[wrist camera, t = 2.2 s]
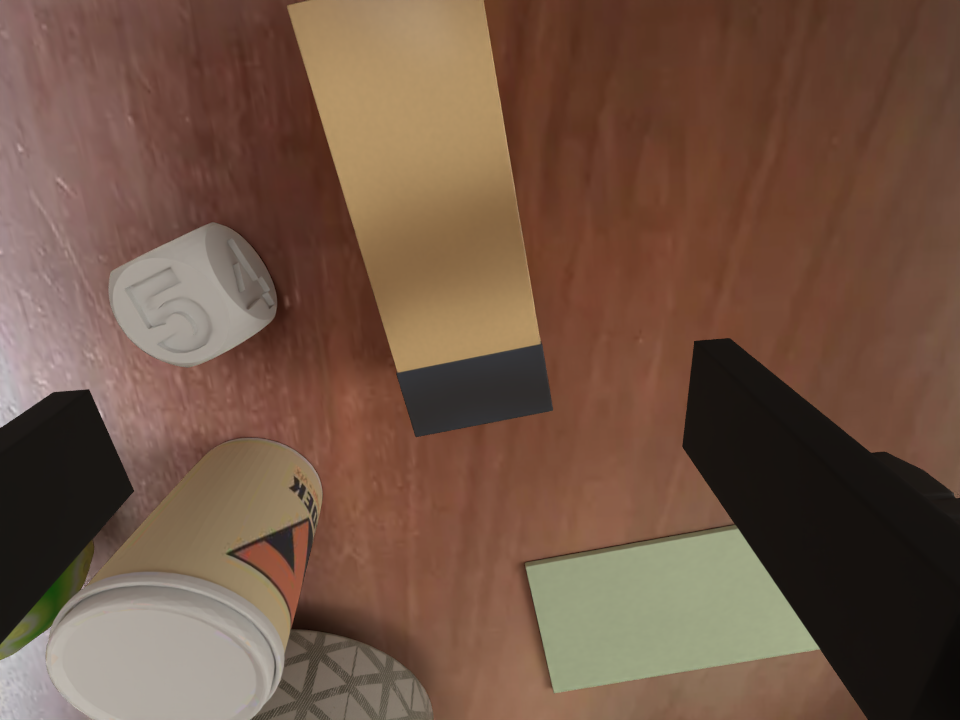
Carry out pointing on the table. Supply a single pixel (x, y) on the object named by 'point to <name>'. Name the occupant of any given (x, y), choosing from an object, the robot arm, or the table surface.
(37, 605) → the decorative ball
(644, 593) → the envelope
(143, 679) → the coffee cup
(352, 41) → the beech block
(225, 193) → the table surface
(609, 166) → the table surface
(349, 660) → the planter
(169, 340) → the die
